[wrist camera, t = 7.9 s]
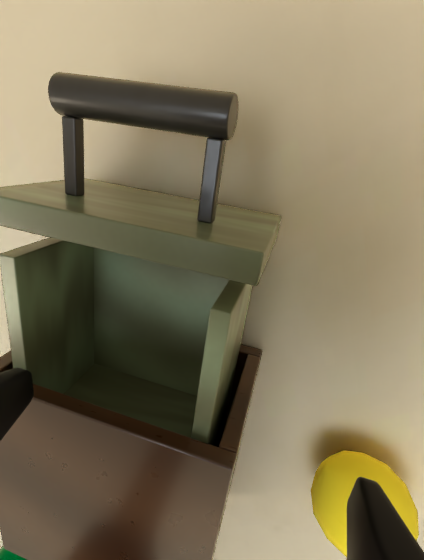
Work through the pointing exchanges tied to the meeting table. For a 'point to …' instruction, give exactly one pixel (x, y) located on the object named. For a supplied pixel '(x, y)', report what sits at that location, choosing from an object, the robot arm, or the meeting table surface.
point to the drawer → (134, 267)
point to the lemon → (339, 483)
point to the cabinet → (116, 479)
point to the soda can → (9, 555)
